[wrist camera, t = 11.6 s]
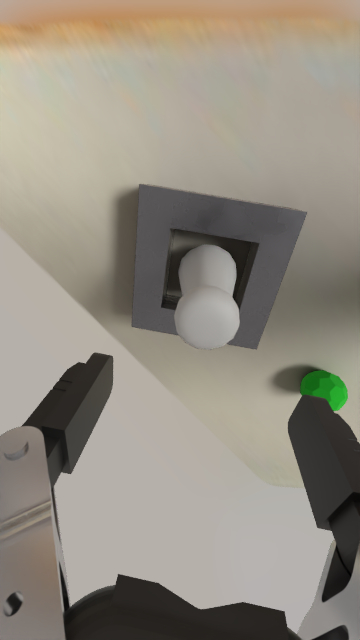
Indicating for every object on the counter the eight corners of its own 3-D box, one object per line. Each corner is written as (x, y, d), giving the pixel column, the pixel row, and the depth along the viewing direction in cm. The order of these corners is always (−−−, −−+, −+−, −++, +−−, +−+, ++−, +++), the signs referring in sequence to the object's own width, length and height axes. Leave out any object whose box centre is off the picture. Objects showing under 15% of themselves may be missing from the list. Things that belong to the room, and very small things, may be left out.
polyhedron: (336, 360, 30) (357, 388, 26) (335, 389, 32) (354, 418, 28) (294, 365, 31) (307, 393, 27) (296, 393, 33) (308, 422, 29)
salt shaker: (170, 259, 26) (141, 314, 15) (215, 228, 24) (221, 263, 13) (200, 301, 28) (194, 376, 17) (244, 274, 26) (270, 340, 15)
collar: (294, 208, 23) (307, 212, 20) (251, 332, 30) (256, 349, 27) (148, 184, 23) (139, 183, 20) (139, 312, 30) (131, 326, 27)
